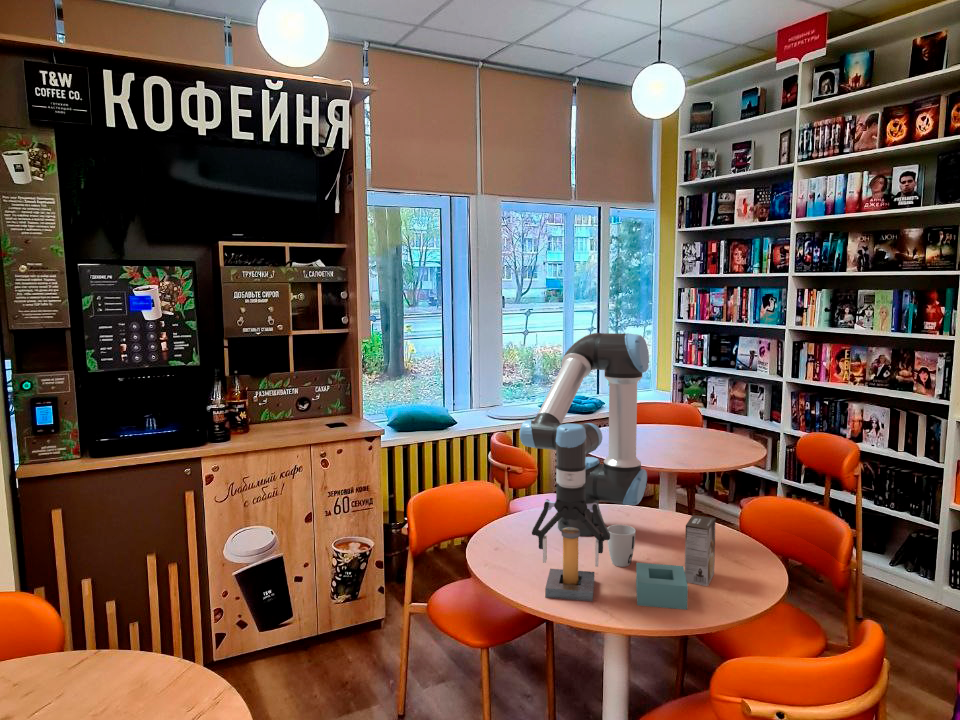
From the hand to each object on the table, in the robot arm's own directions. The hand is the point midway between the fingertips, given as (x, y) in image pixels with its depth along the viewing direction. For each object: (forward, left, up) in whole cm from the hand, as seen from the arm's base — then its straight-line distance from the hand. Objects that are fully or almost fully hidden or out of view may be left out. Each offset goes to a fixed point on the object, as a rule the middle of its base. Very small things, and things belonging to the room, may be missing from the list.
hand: (570, 562), depth 172 cm
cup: (-19, +13, -7) cm, 24 cm away
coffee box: (-13, +34, -8) cm, 37 cm away
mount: (0, 0, -7) cm, 7 cm away
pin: (0, 0, -7) cm, 7 cm away
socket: (0, +23, -7) cm, 24 cm away
